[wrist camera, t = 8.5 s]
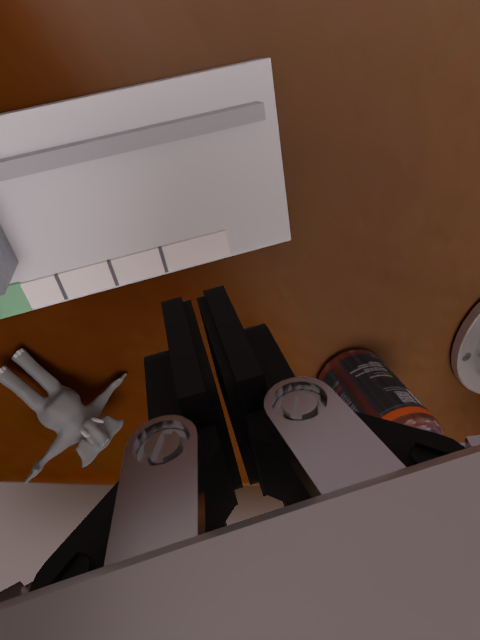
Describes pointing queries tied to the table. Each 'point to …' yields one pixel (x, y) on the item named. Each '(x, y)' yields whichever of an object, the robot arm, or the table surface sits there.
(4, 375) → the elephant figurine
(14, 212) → the board
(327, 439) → the robot arm
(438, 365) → the table surface
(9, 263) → the block
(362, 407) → the supplement bottle
